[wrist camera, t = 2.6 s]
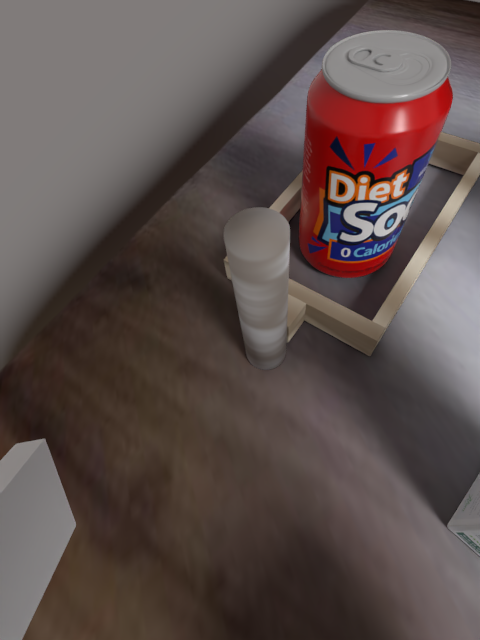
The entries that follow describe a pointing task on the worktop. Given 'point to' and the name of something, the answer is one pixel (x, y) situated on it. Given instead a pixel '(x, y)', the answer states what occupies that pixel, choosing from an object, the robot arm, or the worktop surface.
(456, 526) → the syrup box
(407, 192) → the soda can
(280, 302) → the birch pull frame
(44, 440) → the robot arm
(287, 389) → the worktop surface
